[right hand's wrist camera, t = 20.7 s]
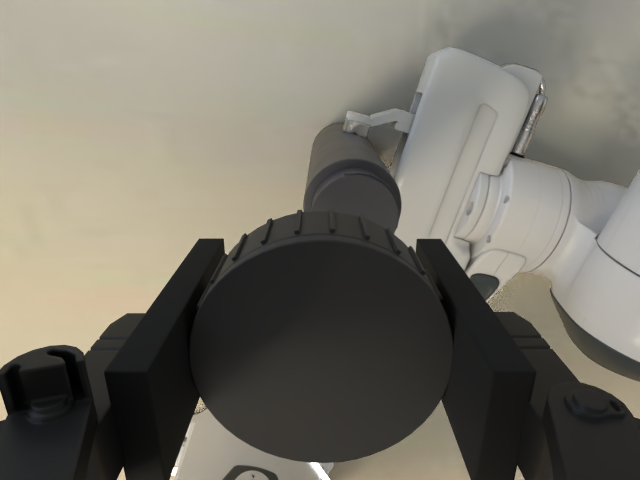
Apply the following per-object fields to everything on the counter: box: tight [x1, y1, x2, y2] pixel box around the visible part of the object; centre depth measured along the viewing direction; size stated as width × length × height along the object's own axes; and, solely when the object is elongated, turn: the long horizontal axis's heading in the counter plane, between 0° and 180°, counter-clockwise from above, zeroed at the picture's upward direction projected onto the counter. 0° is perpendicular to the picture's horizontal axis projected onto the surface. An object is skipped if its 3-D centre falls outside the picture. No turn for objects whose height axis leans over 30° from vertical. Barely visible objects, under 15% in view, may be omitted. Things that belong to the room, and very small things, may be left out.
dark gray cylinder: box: [303, 123, 402, 234], centre depth 31 cm, size 5×5×19 cm
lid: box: [189, 209, 454, 463], centre depth 11 cm, size 6×6×2 cm
